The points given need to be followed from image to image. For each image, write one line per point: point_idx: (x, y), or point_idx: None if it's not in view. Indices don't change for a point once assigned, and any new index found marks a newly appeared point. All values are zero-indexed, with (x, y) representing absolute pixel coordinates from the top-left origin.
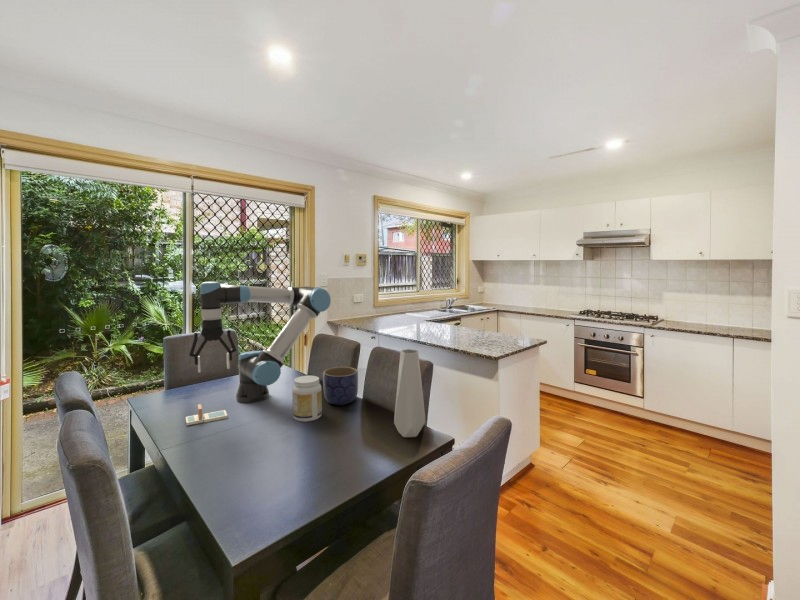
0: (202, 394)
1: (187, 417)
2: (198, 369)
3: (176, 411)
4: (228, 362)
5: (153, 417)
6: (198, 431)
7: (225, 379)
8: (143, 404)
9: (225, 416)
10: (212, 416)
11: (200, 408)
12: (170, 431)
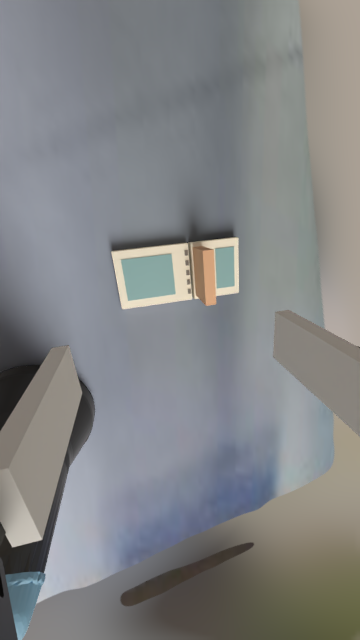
0: (192, 466)
1: (234, 283)
2: (305, 320)
3: (255, 364)
4: (41, 381)
5: None
6: (200, 166)
7: (137, 556)
8: (318, 432)
9: (118, 251)
10: (161, 260)
11: (207, 255)
12: (275, 212)
